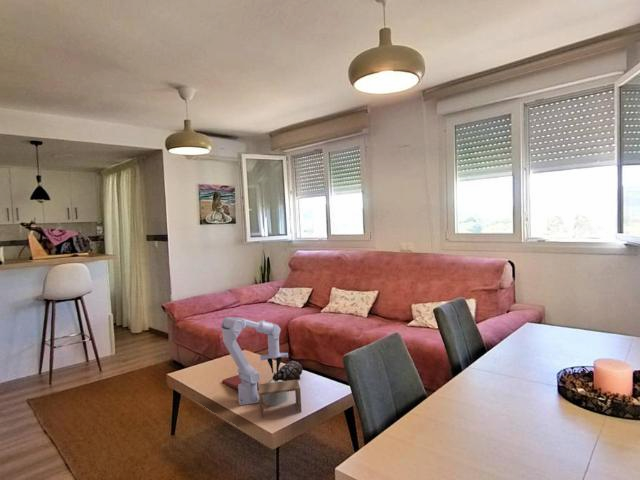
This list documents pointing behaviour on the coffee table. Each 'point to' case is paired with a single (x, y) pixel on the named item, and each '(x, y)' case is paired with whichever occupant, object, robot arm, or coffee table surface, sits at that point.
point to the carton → (234, 381)
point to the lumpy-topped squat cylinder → (276, 397)
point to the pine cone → (289, 372)
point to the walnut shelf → (278, 388)
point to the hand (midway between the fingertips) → (275, 371)
